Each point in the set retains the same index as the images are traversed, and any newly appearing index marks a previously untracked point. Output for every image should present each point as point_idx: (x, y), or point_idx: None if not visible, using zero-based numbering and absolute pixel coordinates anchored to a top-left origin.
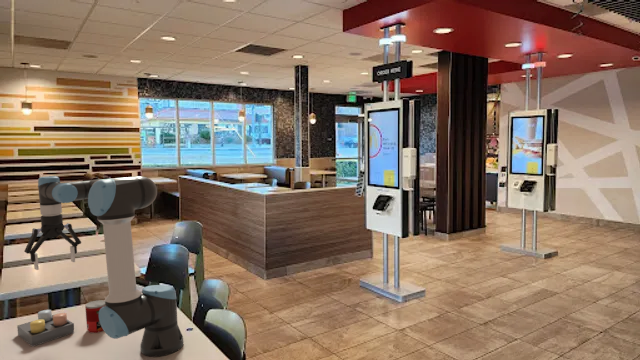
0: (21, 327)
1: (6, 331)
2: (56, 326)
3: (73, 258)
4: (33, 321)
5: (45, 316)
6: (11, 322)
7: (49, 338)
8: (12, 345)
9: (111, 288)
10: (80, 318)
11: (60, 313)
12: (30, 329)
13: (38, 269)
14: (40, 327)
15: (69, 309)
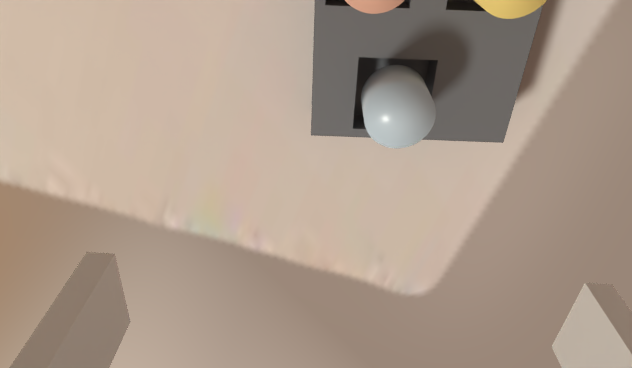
0: (509, 100)
1: (487, 198)
2: None
3: (82, 297)
4: (524, 7)
5: (410, 77)
6: (426, 265)
7: None
8: (574, 16)
9: None
10: (218, 76)
11: (357, 2)
12: (506, 28)
13: (588, 285)
14: None
15: (219, 222)
